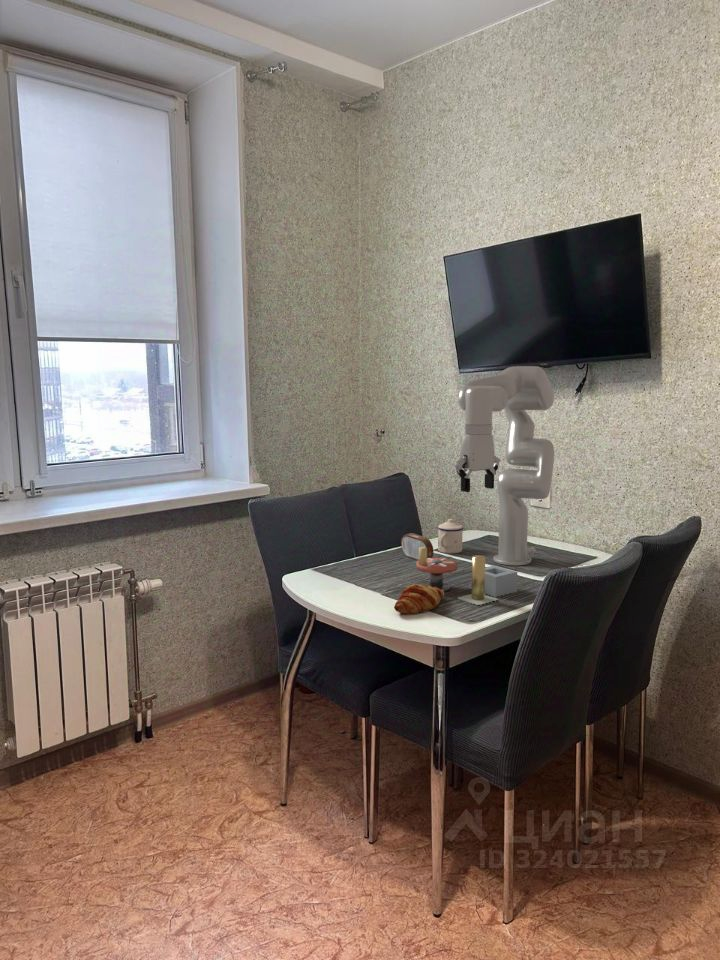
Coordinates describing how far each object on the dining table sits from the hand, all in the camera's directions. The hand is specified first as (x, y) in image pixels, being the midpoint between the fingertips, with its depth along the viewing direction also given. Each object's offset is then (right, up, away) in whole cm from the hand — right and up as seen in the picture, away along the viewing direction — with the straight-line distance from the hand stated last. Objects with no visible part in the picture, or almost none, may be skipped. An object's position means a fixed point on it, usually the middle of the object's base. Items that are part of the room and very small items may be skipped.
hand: (477, 489), depth 204 cm
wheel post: (-11, -29, +6) cm, 32 cm away
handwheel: (-11, -23, +5) cm, 26 cm away
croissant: (-17, -32, -11) cm, 38 cm away
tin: (-14, -25, +41) cm, 50 cm away
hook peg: (-1, -31, -5) cm, 31 cm away
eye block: (+6, -30, +3) cm, 30 cm away
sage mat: (-1, -31, -5) cm, 31 cm away
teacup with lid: (-2, -23, +51) cm, 56 cm away
